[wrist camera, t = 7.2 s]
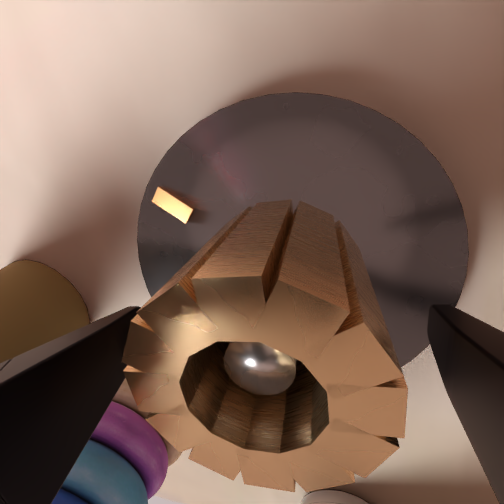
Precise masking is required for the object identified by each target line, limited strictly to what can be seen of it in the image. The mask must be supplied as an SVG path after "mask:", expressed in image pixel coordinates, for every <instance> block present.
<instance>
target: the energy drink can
mask: <svg viewBox="0 0 504 504" xmlns="http://www.w3.org/2000/svg"><path fill="white" fill-rule="evenodd" d="M301 504H368V503H367V502H366V501H364V500H363V499H361V498H359V497H357V496H354V495H352V494H349V493H345V492H342V491H336V490H319V491H315V492H312V493H310V494H308V495H306V496H305V497H304V498H303V500H302V502H301Z"/></svg>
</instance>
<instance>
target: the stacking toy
mask: <svg viewBox="0 0 504 504" xmlns="http://www.w3.org/2000/svg"><path fill="white" fill-rule="evenodd" d="M148 414H149V412H143V411H139V409H138V407H137V405H136V402H135V400H134V397H133V395H132V393H131V390H130V388H129V385H128V383H127V381H126V378H125V380H124V381H123V383H122V385H121V386H120V388H119V390H118V391H117V393H116V395H115V396H114V398H113V400H112V402H111V403H110V405H109V407H108V408H107V410H106V412H105V413H104V415H103V417H102V418H101V420H100V422H99V424H98V425H97V427H96V429H95V430H94V432H93V434H92V435H91V437H90V439H89V440H88V442H87V444H86V446H85V447H84V449H83V451H82V452H81V454H80V456H79V457H78V459H77V461H76V463H75V464H74V466H73V468H72V469H71V471H70V473H69V474H68V476H67V478H66V479H65V481H64V483H63V485H62V486H61V488H60V490H59V491H58V493H57V495H56V496H55V498H54V500H53V501H52V503H51V504H148V499H150V498H151V497H152V496H153V495H154V494H155V493H156V492H157V491H158V490H159V488H160V487H161V485H162V483H163V482H164V479H165V477H166V473H167V469H168V466H170V465H172V464H173V463H174V462H175V461H176V460H177V459H178V458H179V456H180V455H181V453H182V451H181V452H178V451H177V450H176V449H175V448H174V447H173V446H172V445H171V444H170V443H169V442H168V441H167V440H166V439H165V438H164V437H163V436H162V435H161V434H160V433H159V432H158V431H157V430H156V429H155V428H154V427H152V426H151V425H150V424H149V423H148V422H147V421H146V420H145V419H146V417H147V416H148Z"/></svg>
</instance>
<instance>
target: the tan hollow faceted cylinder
mask: <svg viewBox="0 0 504 504" xmlns="http://www.w3.org/2000/svg"><path fill="white" fill-rule="evenodd" d="M136 313H137V315H136V316H135V317H134V318H133V319H132V320H131V322H130V326H129V331H128V335H127V340H126V344H125V349H124V353H123V357H122V362H123V363H125V364H127V367H126V368H125V369H124V370H123V373H124V376H125V378H126V381H127V383H128V385H129V388H130V390H131V393H132V395H133V397H134V400H135V402H136V405H137V407H138V409H139V411H143V412H149V414H148V416H147V417H146V419H145V420H146V421H147V422H148V423H149V424H150V425H151V426H152V427H154V428H155V429H156V430H157V431H158V432H159V433H160V434H161V435H162V436H163V437H164V438H165V439H166V440H167V441H168V442H169V443H170V444H171V445H172V446H173V447H174V448H175V449H176V450H177V451H178V452H181V451H184V450H187V449H190V448H192V451H191V453H190V456H189V458H188V459H190V460H192V461H194V462H197V463H199V464H201V465H203V466H205V467H207V468H209V469H211V470H213V471H215V472H217V473H219V474H221V475H223V476H225V477H227V478H229V479H231V480H234V479H235V477H236V476H237V475H238V473H239V472H240V470H241V473H242V477H243V481H244V484H247V485H253V486H260V487H266V488H272V489H278V490H284V491H291V492H295V482H297V483H298V484H299V485H300V486H301V487H302V488H303V489H304V490H305V491H306V492H310V491H315V490H320V489H325V488H330V487H336V486H341V485H346V484H351V483H355V478H354V473H355V474H357V475H359V476H361V477H363V478H366V477H367V476H368V475H369V474H370V473H371V472H373V471H374V470H375V469H376V468H377V467H378V466H379V465H380V464H382V463H383V462H384V461H385V460H386V459H387V458H388V457H389V456H391V455H392V454H393V453H394V452H395V451H396V450H397V449H399V444H398V440H397V438H404V437H405V423H406V408H407V393H408V388H407V385H406V382H405V379H404V375H403V373H402V370H401V367H400V364H399V361H398V358H397V355H396V352H395V350H394V347H393V344H392V341H391V338H390V335H389V332H388V329H387V327H386V324H385V321H384V318H383V315H382V312H381V309H380V306H379V304H378V301H377V298H376V295H375V292H374V289H373V286H372V284H371V281H370V278H369V275H368V272H367V269H366V266H365V263H364V261H363V258H362V255H361V252H360V249H359V247H358V246H357V244H356V243H355V241H354V240H353V239H352V237H351V236H350V234H349V233H348V231H347V230H346V229H345V227H344V226H343V224H342V223H341V222H340V220H339V221H337V222H336V223H334V217H333V215H332V214H330V213H327V212H325V211H323V210H321V209H318V208H316V207H314V206H311V205H309V204H307V203H305V202H302V201H299V203H298V206H297V208H296V210H295V212H294V214H293V207H292V199H289V200H280V201H270V202H261V203H256V205H255V206H254V207H253V208H251V207H250V206H249V207H248V208H246V209H245V210H244V211H242V212H241V213H240V214H238V215H237V216H236V217H234V218H233V219H232V220H230V221H229V222H228V223H227V224H225V225H224V226H223V227H222V228H221V229H220V230H219V231H218V232H217V233H216V234H215V235H214V236H213V237H212V238H211V239H210V240H209V241H208V242H207V243H206V244H205V245H204V246H203V247H202V248H201V249H200V250H199V251H198V252H197V253H196V254H195V255H194V256H193V257H192V258H191V259H190V260H189V261H188V262H187V263H186V264H185V265H184V266H183V267H182V268H181V269H180V270H179V271H178V272H177V273H176V274H175V275H174V276H173V277H172V278H171V279H170V280H169V281H168V282H167V283H166V284H165V285H164V286H163V287H162V288H161V289H160V290H159V291H158V292H157V293H156V294H155V295H154V296H153V297H151V298H150V299H149V300H148V301H147V302H146V303H145V304H144V305H143V306H142V307H141V308H140V309H139V310H138V311H137V312H136ZM230 341H232V342H261V343H263V344H265V345H267V346H269V347H271V348H273V349H276V350H278V351H280V352H282V353H284V354H286V355H289V356H291V357H293V358H295V359H297V360H296V370H295V378H294V380H293V382H292V384H291V385H290V386H289V387H288V388H287V389H286V390H284V391H283V392H280V393H277V394H272V395H261V394H256V393H252V392H249V391H247V390H245V389H243V388H241V387H240V386H238V385H237V384H236V383H235V382H233V380H232V379H231V378H230V377H229V376H228V374H227V372H226V370H225V367H224V355H225V352H226V350H227V348H228V345H229V343H230Z"/></svg>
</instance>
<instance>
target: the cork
mask: <svg viewBox="0 0 504 504" xmlns="http://www.w3.org/2000/svg"><path fill="white" fill-rule="evenodd" d="M89 323H90V321H89V315H88V310H87V307H86V305H85V303H84V301H83V299H82V297H81V295H80V294H79V293H78V291H77V290H76V289H75V288H74V287H73V285H72V284H71V283H70V282H69V281H68V280H67V279H66V278H64V277H63V276H62V275H61V274H60V273H58V272H57V271H56V270H54V269H52V268H50V267H48V266H46V265H44V264H42V263H40V262H35V261H30V260H22V261H16V262H13V263H11V264H9V265H8V266H6V267H4V268H2V269H1V270H0V363H2V362H4V361H6V360H9V359H13V358H14V357H16V356H18V355H20V354H22V353H25V352H27V351H29V350H31V349H34V348H36V347H38V346H41V345H43V344H45V343H47V342H50V341H52V340H54V339H56V338H59V337H61V336H63V335H65V334H68V333H70V332H72V331H75V330H77V329H79V328H81V327H84V326H86V325H88V324H89Z"/></svg>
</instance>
